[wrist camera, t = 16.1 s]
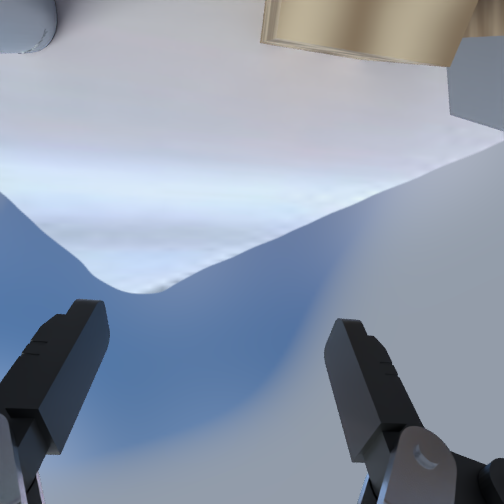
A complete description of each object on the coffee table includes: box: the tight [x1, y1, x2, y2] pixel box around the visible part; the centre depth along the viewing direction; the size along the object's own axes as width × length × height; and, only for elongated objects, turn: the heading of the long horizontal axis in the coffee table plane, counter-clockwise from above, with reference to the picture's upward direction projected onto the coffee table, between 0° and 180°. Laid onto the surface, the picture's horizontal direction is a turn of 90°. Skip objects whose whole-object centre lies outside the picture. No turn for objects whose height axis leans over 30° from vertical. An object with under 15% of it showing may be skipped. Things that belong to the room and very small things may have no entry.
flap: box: [447, 0, 504, 131], centre depth 26 cm, size 1×20×15 cm, turn 25°
